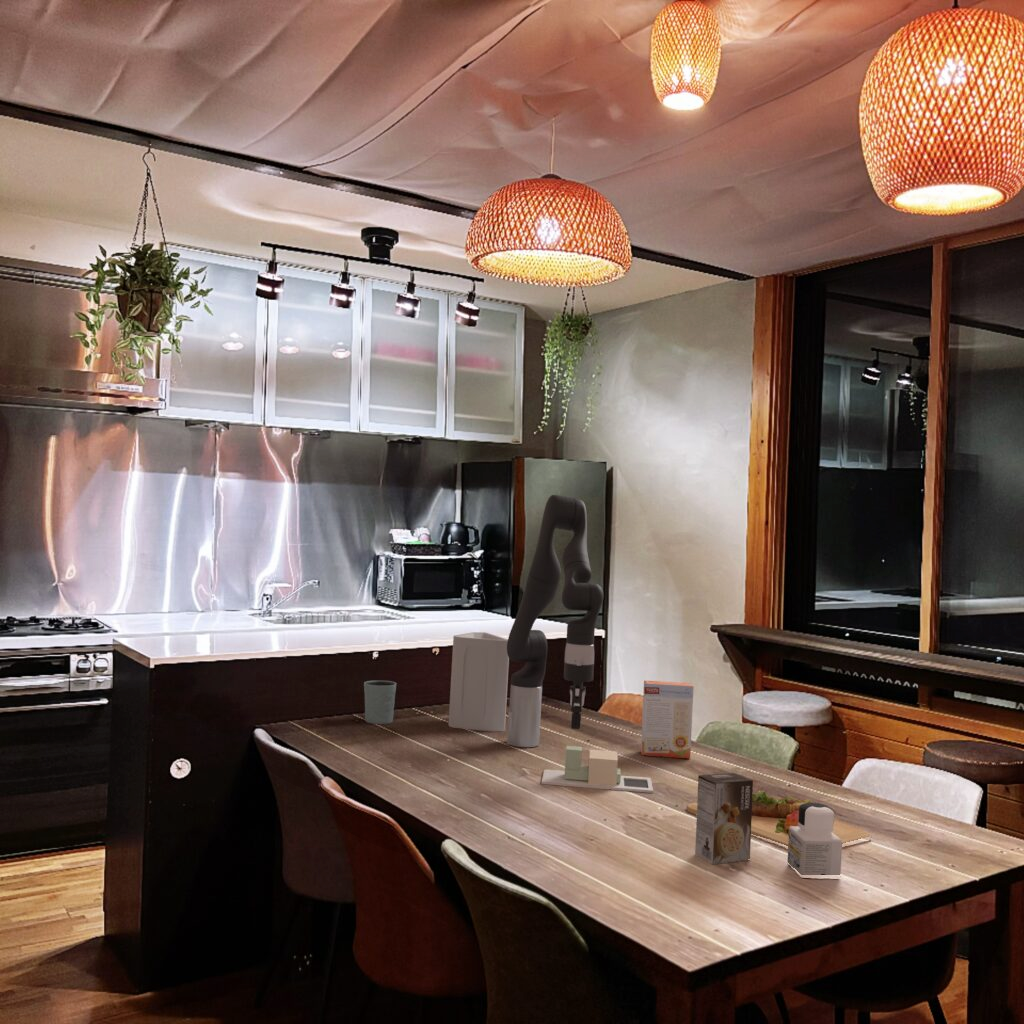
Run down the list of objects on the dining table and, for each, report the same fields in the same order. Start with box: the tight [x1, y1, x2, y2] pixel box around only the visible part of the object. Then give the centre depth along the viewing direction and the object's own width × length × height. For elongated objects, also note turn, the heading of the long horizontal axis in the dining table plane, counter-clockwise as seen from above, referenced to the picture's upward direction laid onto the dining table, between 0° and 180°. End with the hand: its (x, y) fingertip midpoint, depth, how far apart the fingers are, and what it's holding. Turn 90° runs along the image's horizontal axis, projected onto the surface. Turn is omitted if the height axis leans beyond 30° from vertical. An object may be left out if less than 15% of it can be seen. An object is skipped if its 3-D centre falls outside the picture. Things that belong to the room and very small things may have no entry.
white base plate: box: [541, 749, 654, 794], centre depth 243 cm, size 28×12×7 cm, turn 84°
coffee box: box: [694, 772, 754, 865], centre depth 192 cm, size 9×6×16 cm
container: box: [786, 802, 843, 875], centre depth 187 cm, size 8×8×13 cm
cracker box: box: [640, 680, 694, 760], centre depth 276 cm, size 14×6×21 cm, turn 84°
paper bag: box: [448, 631, 510, 733], centre depth 302 cm, size 19×15×28 cm
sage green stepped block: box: [564, 745, 622, 783], centre depth 243 cm, size 14×6×7 cm, turn 84°
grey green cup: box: [363, 679, 397, 725], centre depth 301 cm, size 10×10×12 cm
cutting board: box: [686, 790, 872, 846], centre depth 216 cm, size 35×23×8 cm
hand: (576, 725), depth 244 cm, fingers open, 8 cm apart
